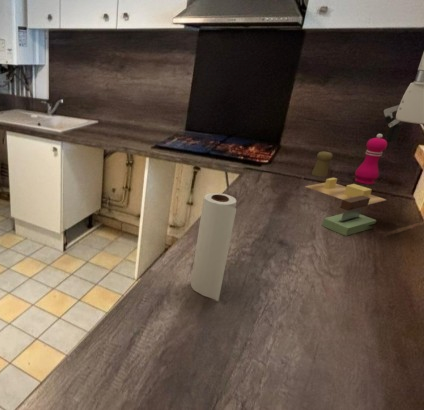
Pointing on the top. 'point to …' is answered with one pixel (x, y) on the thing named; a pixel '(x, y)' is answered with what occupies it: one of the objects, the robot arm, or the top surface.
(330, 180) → the butter pat
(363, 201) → the scraper
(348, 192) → the butter block
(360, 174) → the pepper mill
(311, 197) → the top surface
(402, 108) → the robot arm
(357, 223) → the stand
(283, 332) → the top surface
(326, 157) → the cork
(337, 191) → the board
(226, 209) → the paper towel roll
